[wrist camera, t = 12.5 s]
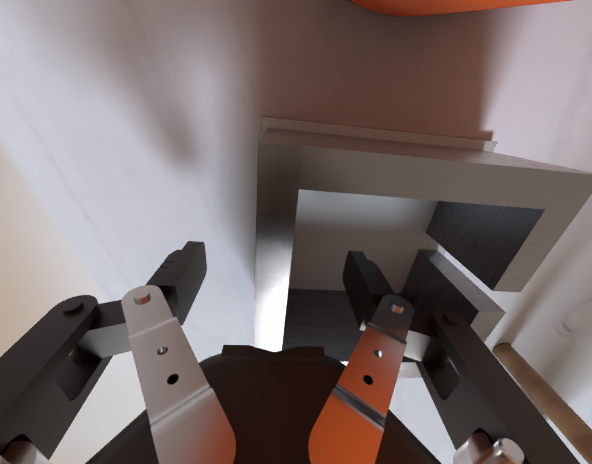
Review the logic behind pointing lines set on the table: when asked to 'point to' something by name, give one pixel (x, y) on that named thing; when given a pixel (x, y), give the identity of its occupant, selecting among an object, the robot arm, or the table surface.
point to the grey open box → (442, 228)
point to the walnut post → (547, 400)
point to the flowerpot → (439, 6)
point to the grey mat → (360, 218)
